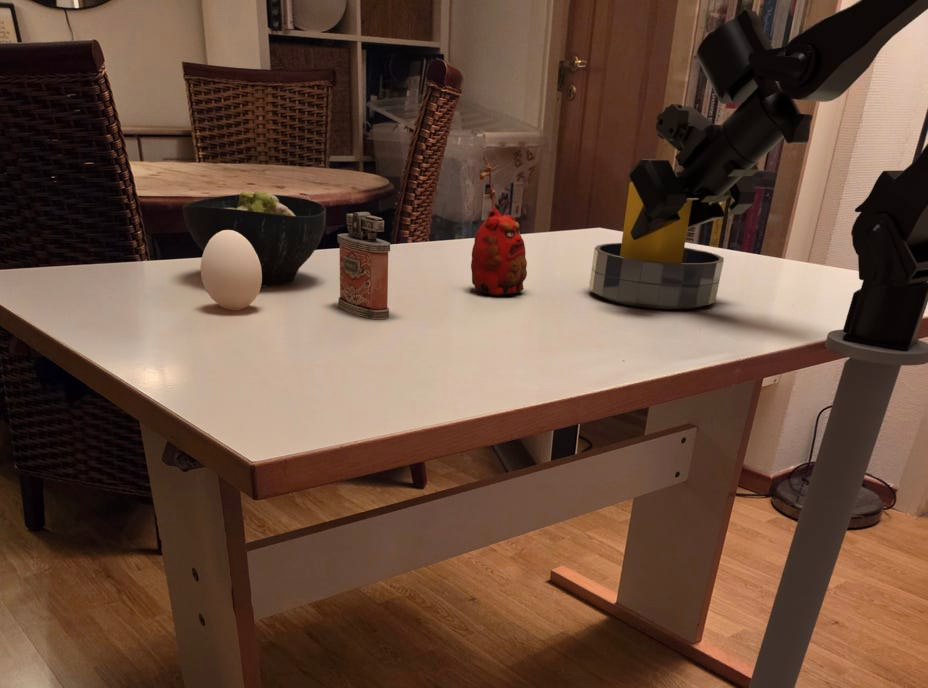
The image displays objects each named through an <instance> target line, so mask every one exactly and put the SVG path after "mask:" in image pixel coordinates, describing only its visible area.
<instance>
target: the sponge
mask: <svg viewBox="0 0 928 688" xmlns="http://www.w3.org/2000/svg"><path fill="white" fill-rule="evenodd" d="M691 206H692V200H687V203H686V204H685V205H684V206H683V208H682V209H681V210H679V211H678V214H679V216H680V218H681V219H680V220H679V221H676V222H674V223H672V224H670V225H668V226H665V227H663V228H661V229H659V230H657V231H655V232H652V233H650V234H648V235H646V236H644V237H641V238H639V239H637V240H634V239H633V238H632V236H631V230H632V228H633V226H634V224H635V222H636V220H637V218H638V216H639V213H640V211H641V209H642V207H643V203H642V201H641V199H640V197H639V195H638V193H637V191H636V189H635V187H634V185H633V183H632V181H630V182H629V186H628V193H627V201H626V206H625V207H626V208H625V215H624V222H623V230H622V237H621V243H622V244H621V251H620V256H621V257H626V258H632V259H639V260H647V261H656V262H668V263H682V258H683V252H684V247H685V246H686V241H687V236H688V235H687V234H688V229H689V228H688V223H689V217H690V211H691Z"/></svg>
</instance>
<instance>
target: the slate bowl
mask: <svg viewBox="0 0 928 688" xmlns="http://www.w3.org/2000/svg"><path fill="white" fill-rule="evenodd" d="M621 244H622V242H612V243H602V244H597V246H595V247H594V248H593V257H592V264H591V271H590V278H589V286H588V288H589V290H590V291H591V292H592V293H594V294H596V295H597V296H599V297H600V298H602V299H603V300H606V301H609V302H612V303H615V304H620V305H623V306H629V307H634V308H641V309H642V308H643V309H650V310H651V309H652V310H663V311H666V310H667V311H668V310H669V311H687V310H695V309H699V308H703V307H704V306H708V305H711V304H713V303H716V299H717V295H718V290H719V285H720V281H721V276H722V271H723V266H724V261H725V257H723V256H722V255H719V254H717V253H713V252H710V251H706V250H701V249H696V248H690V247H685V246H684V252H683V258H682V263H668V262H656V261H647V260H639V259H632V258H626V257H621V256H620V251H621Z"/></svg>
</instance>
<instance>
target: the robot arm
mask: <svg viewBox="0 0 928 688" xmlns="http://www.w3.org/2000/svg"><path fill="white" fill-rule="evenodd" d="M927 10H928V0H858V1H856V2H855V3H853V4H852V5H850V6H848V7H846V8H844V9H841V10H839V11H837V12H834V13H832V14H830V15H827V16H825V17H824V18H822V19H820V20H819V21H817V22H815V23H813V25H811V26H809V27H808V28H806V29H804V30H802V31H801V32H800V33H798V34H797V35H795V36H794V37H792V38H791V40H789V42H788V43H786V45H785V46H781V47H775V48H773V46H772V45H771V43H770V41H769V38H768V37H767V35H766V32H765V30H764V28H763V26H762V22H761V19H760V17H759V15H758V14H757V11H755V10H750V9H743V10H742V11H741V12H740V13H739V15H738V16H736V17H735V18H732V19H730V20H728V21H726V22H724V23H723V24H721V25H720V26H718V27H717V28H716V29H715V30H714V31H710V32H709V33H708V34H707V35H706V36H705V37H704V39H703V40H702V41H701V43H700V45H699V46H698V48H697V51H696V56H695V57H696V59H697V61H698V63H699V65H700V67H701V69H702V71H703V73H704V75H705V76H706V78H707V80H708V82H709V84H710V87H711V89H712V90H713V92H714V94H715V96H716V97H717V99H718V102H719V103H720V104H722V105H727V104H732V105H734V106H738V107H737V108H736V109H735V110H734V111H733V112H732V113H731V114H730V115H729V116H728V117H727V118H726V119H725V120H724V121H723V122H722V123H721V124H714V123H713V122H712V121H711V120H710V119H708V117H706V116H704V114H702V113H701V112H700V111H699V110H697V109H696V108H694V107H691V106H687V105H682V104H681V103H671V104H670V105H669V106H665V108H664V110H663V111H662V112H660V113H658V115H657V116H656V122H655V131H656V132H657V133H656V135H657V136H658V138H660V139H661V140H665V142H667V143H668V144H669V145H670V146H672V147H673V148H674V149H676V151H678V153H677V154H676V155H675V156H674V158H675V160H676V162H677V164H678V165H679V166H680V167H682V170H681V171H676V172H675V170H674V168H673V166H672V164H671V162H670V160H668V159H661V158H660V159H658V158H657V159H655V158H651V159H650V158H641V159H639V160H638V162H637V163H636V164H635V165H634V166H633V167H632V168H631V170H629V174H628V177H629V179H630V180H631V181H630V182H632V183H633V185H634V187H635V189H636V191H637V193H638V195H639V197H640V199H641V201H642V203H643V207H642V209H641V211H640V213H639V216H638V218H637V220H636V222H635V224H634V226H633V228H632V230H631V236H632V238H633V239H634V240H637V239H639V238H641V237H644V236H646V235H648V234H650V233H652V232H655V231H657V230H659V229H661V228H663V227H665V226H668V225H670V224H672V223H674V222H676V221H679V220H680V219H681V218H680V216H679V214H678V211H679V210H681V209H682V208H683V206H684V205H685V204H686V203H687V200H692V206H691V211H690V217H689V223H688V229H692V228H694V227H697V226H700V225H703V224H706V223H708V222H712V221H715V220H718V219H723V218H724V217H725V216H726V215H725V211H724V209H723V206H722V204H723V203H725V202H726V201H727V200H728V199H729V198H730V197H731V198H732V199H733V202H732V203H731V204H730V205H729V206H728V209H727V212H728V214H729V215H730V216H732V215H733V216H735V215H742V214H744V213H745V212H746V211H747V210H748V209H749V208H750V207H752V206H753V205H754V202H755V198H756V193H757V191H756V190H755V187H754V185H753V183H752V182H751V180H750V178H749V177H753V176H754V175H755V174H756V173H757V172H758V171H759V167H758V165H757V163H758V162H759V161H760V160H762V159H763V158H764V157H765V156H766V155H767V154H768V153H770V151H771V150H772V149H774V147H776V145H778V144H779V143H780V142H781V141H782V140H785V142H786V143H787V144H788V145H789V144H791V145H794V144H795V145H798V144H799V145H800V144H801V145H805V144H808V142H809V140H810V134H811V133H810V132H811V122H812V120H813V115H812V114H811V113H802V112H801V110H800V108H799V107H798V105H797V103H796V101H795V100H798V101H808V102H819V103H820V102H821V103H826V102H827V103H828V102H831V101H834V100H836V99H837V98H840V97H841V96H842V95H843V94H844V93H846V92H847V90H848V89H850V88H851V86H852V85H854V84H855V82H856V81H857V80H858V79H860V77H861V76H862V75H863V74H864V73H865V72H866V71H867V70H868V69H869V68H870V66H871V65H872V63H873V62H874V60H875V59H876V57H877V56H878V54H879V52H880V51H881V50H882V48H883V47H884V46H885V45H887V44H888V42H889V41H890V40H891V39H892V38H894V36H895V35H897V34H898V33H900V32H901V31H902V30H903V29H904V28H906V27H907V26H908V25H910V24H911V23H912V22H914V21H915V20H916V19H917V18H918V17H919V16H921V15H922V14H923V13H925V12H926V11H927ZM777 82H778V83H777ZM854 212H855V213H859V214H858V215H857V217H856V218H855V220H854V223H853V225H852V228H851V230H850V231H851V232H850V235H851V240H852V241H851V242H852V246H853V250H854V251H855V254H856V255H857V263H858V264H857V266H858V279H859V280H860V281H862V283H861V288H859V289H857V290H856V291H854V292H853V293H852V298H851V301H850V304H849V308H848V312H847V315H846V318H845V321H844V325H843V328H842V330H843V331H844V333H847V334H845V335H844V336H843V339H842V340H843V341H847V342H853V343H858V344H864V345H870V346H875V347H881V348H887V349H892V350H898V351H905V352H907V351H909V350H910V349H911V348H912V347H913V346H914V345H915V344H916V343H917V341H918V340H919V337H917V336H918V333H919V330H920V327H921V324H922V321H923V318H924V314H925V311H926V309H927V306H928V143H927V144H926V145H925V146H924V148H923V149H922V151H921V152H920V153H919V155H918V156H917V157H916V159H915V160H914V161H913V162H912V163H910V164H909V165H908V166H907V167H906V168H905V169H902V170H901V169H900V170H883V171H882V172H881V173H880V174H879V176H878V177H877V179H876V181H874V184H873V187H872V189H871V191H870V192H869V194H868V195H867V197H866V198H865V200H864V201H863V202H861V204H859V205H858V206H857V207H855V208H854Z"/></svg>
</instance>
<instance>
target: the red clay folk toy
mask: <svg viewBox="0 0 928 688" xmlns="http://www.w3.org/2000/svg"><path fill="white" fill-rule="evenodd" d="M483 160H484V161H485V165H486V169H485V168H480V169H479V171H478V179H479V181H484V180H485V178H488V180H489V188H490V193H489V198H490V201H491V211H490V212H489V213H488V215H487V218H486V219H485V221H483V223H482V224H481V225H480V227H479V228H478V230H476V233H475V235H474V243H473V246H472V250H471V262H470V270H471V283H472V285H473V286H474V288H475V290H476V291H477V292H478V293H480V294H481V293H482V294H489V295H491V296H498V297H500V296H502V295H503V296H505V295H510V294H518V293H519V294H520V293H521V291H522V292H523V290H524V282H525V280H526V279H527V276H528V271H527V267H528V261H527V258H526V253H527V252H526V245H525V241H524V239H523V237H522V235H521V232H520V224H519V222H517V221H515V219H514V217H513V216H512V215H510V214H505V215H502V214H501V213H500V211H499V210H498V209H497V207H496V204H495V199H494V198H495V195H496V193H497V191H496V190H495V189H494V187H493V180H492V172H493V171H494V170H496V169H498V168H499V167H500V165H499V164H498V165H496V166H494V167H493V168H492V167H491V166H490V163H489V161H488V160H487V157H486V156H485V157H483Z"/></svg>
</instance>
